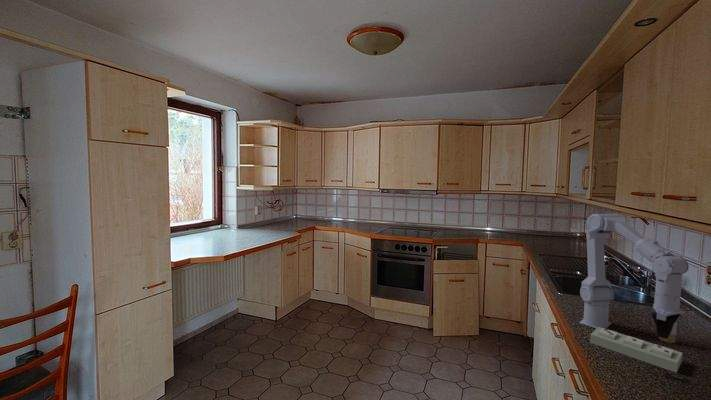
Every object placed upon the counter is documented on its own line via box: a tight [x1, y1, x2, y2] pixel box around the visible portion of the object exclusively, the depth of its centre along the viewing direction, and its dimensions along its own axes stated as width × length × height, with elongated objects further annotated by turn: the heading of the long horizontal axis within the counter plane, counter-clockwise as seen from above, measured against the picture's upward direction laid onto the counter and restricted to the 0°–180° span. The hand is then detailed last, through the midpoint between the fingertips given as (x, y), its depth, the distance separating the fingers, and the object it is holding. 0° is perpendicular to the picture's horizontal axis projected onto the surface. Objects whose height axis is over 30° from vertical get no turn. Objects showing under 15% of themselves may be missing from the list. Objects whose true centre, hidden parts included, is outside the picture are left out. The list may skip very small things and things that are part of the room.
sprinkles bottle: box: [658, 318, 679, 344], centre depth 116 cm, size 5×5×14 cm
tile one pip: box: [624, 335, 645, 349], centre depth 109 cm, size 4×4×2 cm
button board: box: [589, 327, 684, 374], centre depth 109 cm, size 9×22×3 cm, turn 38°
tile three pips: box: [599, 328, 619, 340], centre depth 114 cm, size 4×4×2 cm
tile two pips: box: [652, 343, 675, 358], centre depth 103 cm, size 4×4×2 cm
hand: (663, 335), depth 103 cm, fingers open, 3 cm apart
